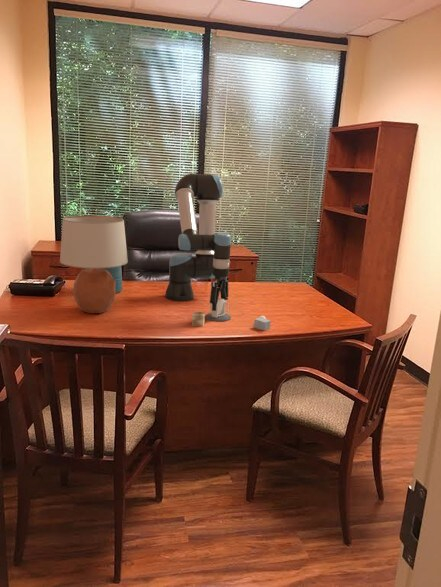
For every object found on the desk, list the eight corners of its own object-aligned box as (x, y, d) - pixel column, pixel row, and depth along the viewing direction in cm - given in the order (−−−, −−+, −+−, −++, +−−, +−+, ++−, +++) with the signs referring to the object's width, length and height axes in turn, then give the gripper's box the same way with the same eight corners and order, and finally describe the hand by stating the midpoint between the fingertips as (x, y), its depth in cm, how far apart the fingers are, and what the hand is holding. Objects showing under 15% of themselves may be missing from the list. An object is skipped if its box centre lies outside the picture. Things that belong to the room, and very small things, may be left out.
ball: (256, 324, 221) (256, 316, 220) (259, 322, 224) (260, 314, 223) (264, 326, 219) (265, 317, 218) (267, 323, 223) (268, 315, 222)
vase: (128, 291, 264) (129, 243, 257) (103, 296, 252) (103, 245, 245) (110, 285, 274) (110, 239, 267) (85, 290, 262) (84, 241, 255)
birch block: (191, 325, 215) (192, 314, 214) (193, 322, 220) (194, 311, 218) (202, 326, 214) (203, 315, 213) (204, 323, 219) (205, 312, 218)
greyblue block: (253, 327, 217) (254, 319, 216) (259, 325, 220) (259, 317, 219) (264, 331, 213) (265, 322, 212) (269, 329, 216) (270, 320, 215)
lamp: (86, 299, 246) (85, 213, 235) (138, 307, 236) (139, 219, 225) (47, 314, 218) (43, 218, 207) (105, 325, 209) (104, 225, 198)
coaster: (201, 318, 225) (201, 317, 225) (212, 312, 236) (212, 310, 235) (224, 323, 220) (224, 321, 220) (235, 316, 231) (235, 315, 230)
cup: (206, 314, 229) (207, 297, 228) (226, 314, 232) (227, 298, 231) (210, 317, 223) (212, 299, 222) (231, 317, 226) (232, 300, 225)
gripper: (218, 272, 211) (215, 321, 217) (237, 265, 229) (234, 311, 235) (203, 269, 215) (201, 318, 220) (223, 262, 232) (220, 308, 238)
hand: (218, 314), depth 228 cm, fingers closed on cup, 7 cm apart
